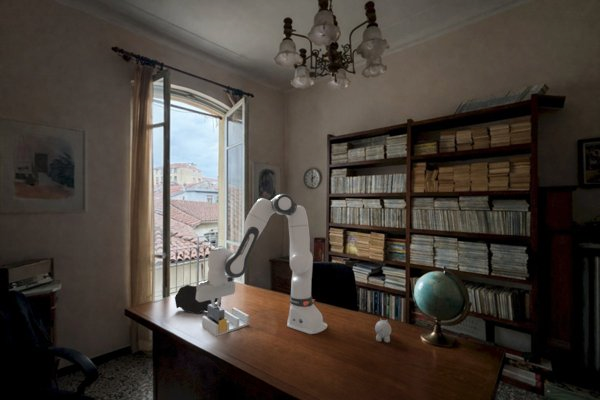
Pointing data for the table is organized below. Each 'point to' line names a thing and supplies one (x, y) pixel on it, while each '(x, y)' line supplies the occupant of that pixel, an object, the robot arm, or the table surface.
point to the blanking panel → (215, 313)
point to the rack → (226, 322)
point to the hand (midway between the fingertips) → (215, 306)
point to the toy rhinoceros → (383, 330)
